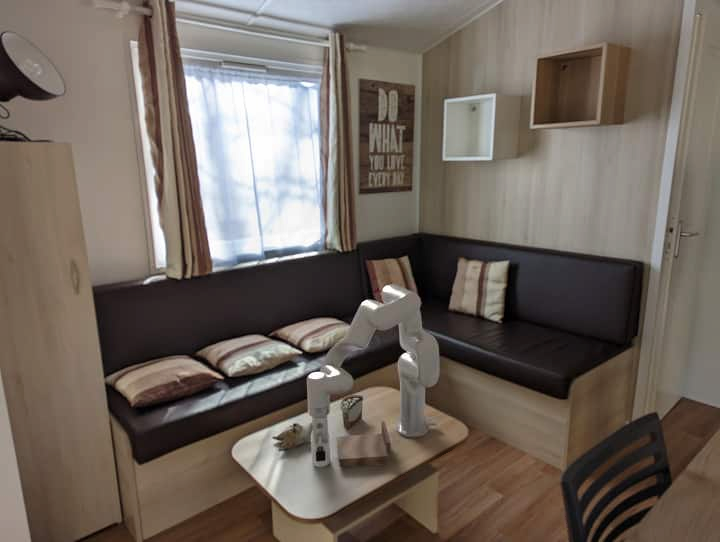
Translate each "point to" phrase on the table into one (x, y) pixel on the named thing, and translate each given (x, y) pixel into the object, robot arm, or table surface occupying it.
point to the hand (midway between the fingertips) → (320, 452)
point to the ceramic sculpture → (294, 436)
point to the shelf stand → (364, 449)
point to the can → (327, 453)
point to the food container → (351, 410)
